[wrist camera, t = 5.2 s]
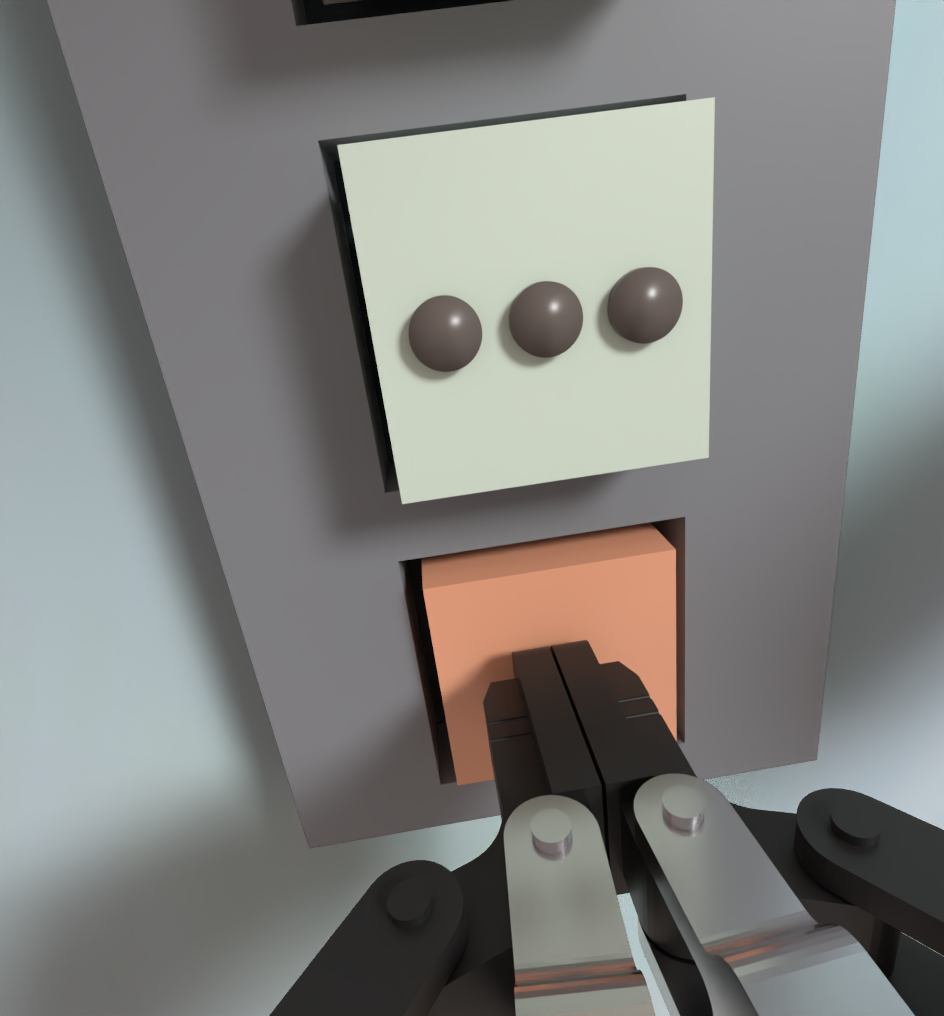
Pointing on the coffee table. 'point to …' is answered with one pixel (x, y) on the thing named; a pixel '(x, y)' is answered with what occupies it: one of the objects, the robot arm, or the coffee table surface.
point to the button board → (348, 375)
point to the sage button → (539, 294)
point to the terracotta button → (548, 619)
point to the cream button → (337, 1)
